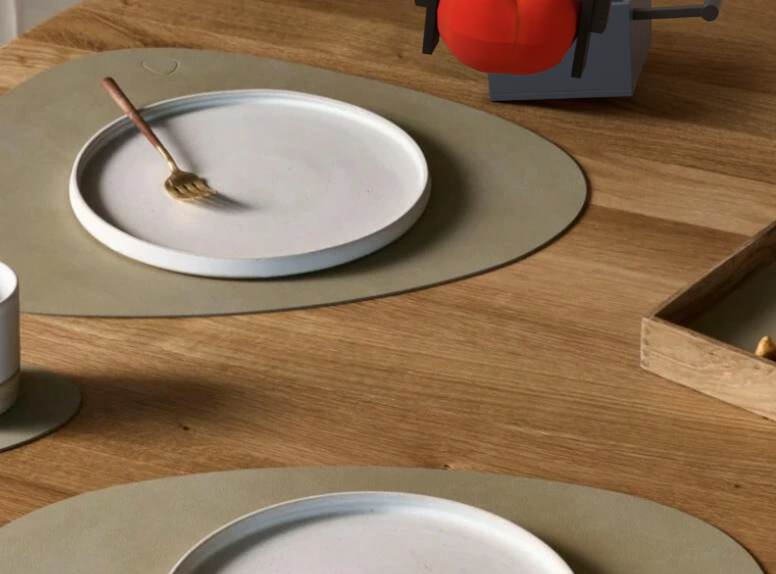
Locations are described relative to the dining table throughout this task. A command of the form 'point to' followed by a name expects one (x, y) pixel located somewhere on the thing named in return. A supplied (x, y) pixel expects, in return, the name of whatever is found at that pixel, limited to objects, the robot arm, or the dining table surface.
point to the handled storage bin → (601, 56)
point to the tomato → (509, 33)
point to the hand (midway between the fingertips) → (503, 59)
